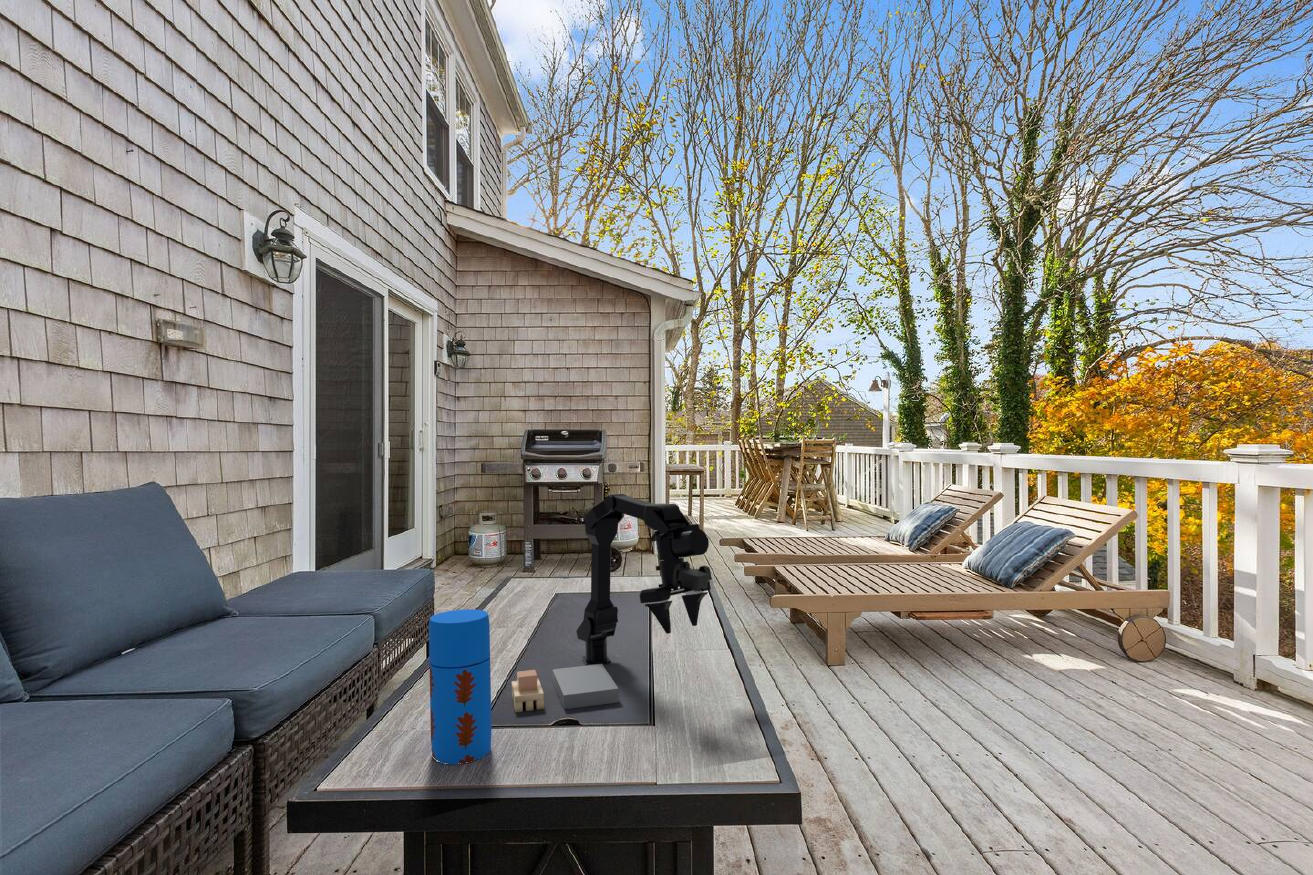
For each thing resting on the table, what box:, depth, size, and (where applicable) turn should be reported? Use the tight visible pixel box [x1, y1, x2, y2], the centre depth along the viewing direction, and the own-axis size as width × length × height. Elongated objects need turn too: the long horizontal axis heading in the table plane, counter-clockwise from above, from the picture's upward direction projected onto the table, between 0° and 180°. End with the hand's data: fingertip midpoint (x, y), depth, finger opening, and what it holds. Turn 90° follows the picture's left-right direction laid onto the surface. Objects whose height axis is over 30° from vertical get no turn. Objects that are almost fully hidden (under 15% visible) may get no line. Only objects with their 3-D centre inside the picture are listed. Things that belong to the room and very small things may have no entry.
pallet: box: [511, 677, 545, 713], centre depth 149 cm, size 10×6×4 cm, turn 16°
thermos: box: [428, 608, 492, 765], centre depth 125 cm, size 11×11×25 cm
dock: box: [552, 664, 620, 710], centre depth 155 cm, size 18×12×3 cm, turn 16°
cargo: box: [516, 669, 538, 691], centre depth 149 cm, size 4×4×3 cm
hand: (681, 629), depth 151 cm, fingers open, 9 cm apart
